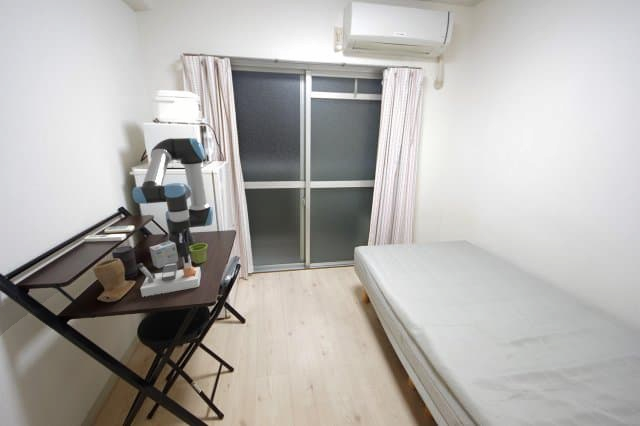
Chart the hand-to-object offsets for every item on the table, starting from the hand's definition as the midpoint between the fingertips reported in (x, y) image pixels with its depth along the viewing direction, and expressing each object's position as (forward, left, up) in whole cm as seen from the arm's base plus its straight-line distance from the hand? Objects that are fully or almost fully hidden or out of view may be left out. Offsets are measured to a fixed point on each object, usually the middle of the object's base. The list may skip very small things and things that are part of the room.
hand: (188, 267), depth 118 cm
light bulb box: (-25, -14, -8) cm, 30 cm away
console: (0, -7, -7) cm, 10 cm away
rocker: (0, -7, 0) cm, 8 cm away
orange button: (0, 0, -6) cm, 6 cm away
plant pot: (-21, +3, -8) cm, 22 cm away
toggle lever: (0, -15, -2) cm, 15 cm away
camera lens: (-15, -28, -8) cm, 33 cm away
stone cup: (-1, -29, -8) cm, 30 cm away
